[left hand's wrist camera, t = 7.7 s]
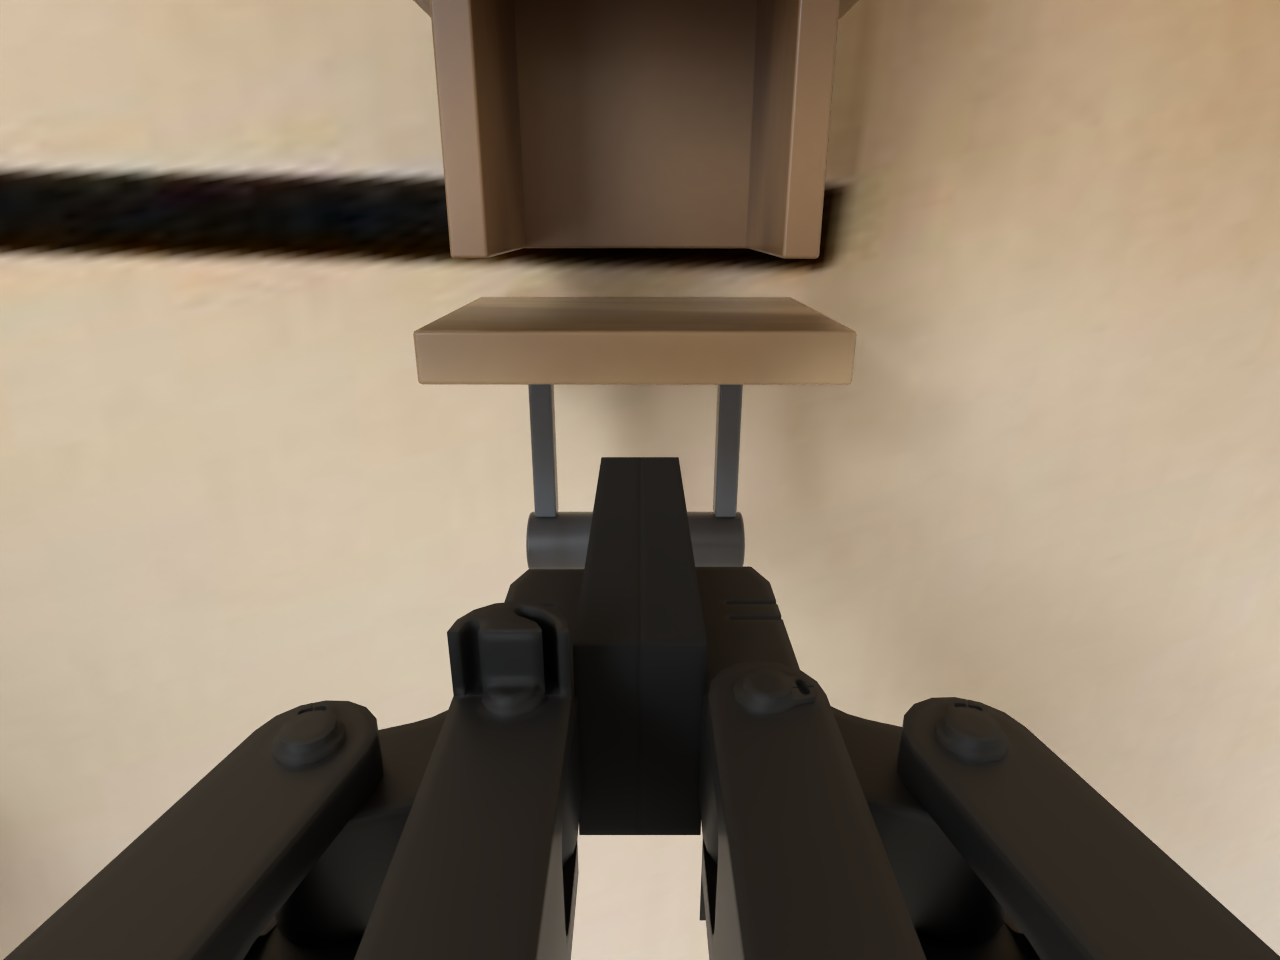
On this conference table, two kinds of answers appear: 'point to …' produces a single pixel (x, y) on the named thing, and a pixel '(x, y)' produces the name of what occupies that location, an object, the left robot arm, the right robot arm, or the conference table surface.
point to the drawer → (634, 209)
